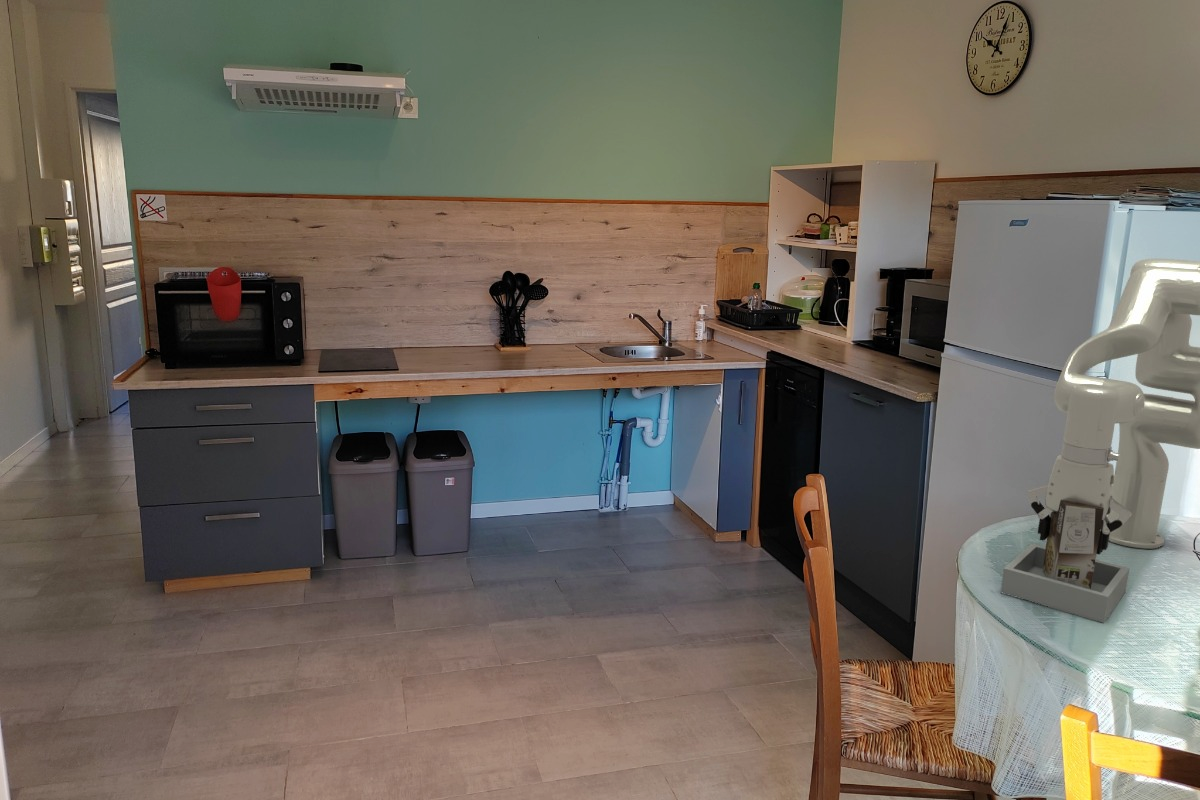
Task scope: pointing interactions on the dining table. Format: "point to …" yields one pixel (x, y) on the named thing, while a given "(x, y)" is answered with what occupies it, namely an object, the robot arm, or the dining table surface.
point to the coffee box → (1073, 543)
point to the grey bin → (1065, 586)
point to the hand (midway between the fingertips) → (1071, 545)
